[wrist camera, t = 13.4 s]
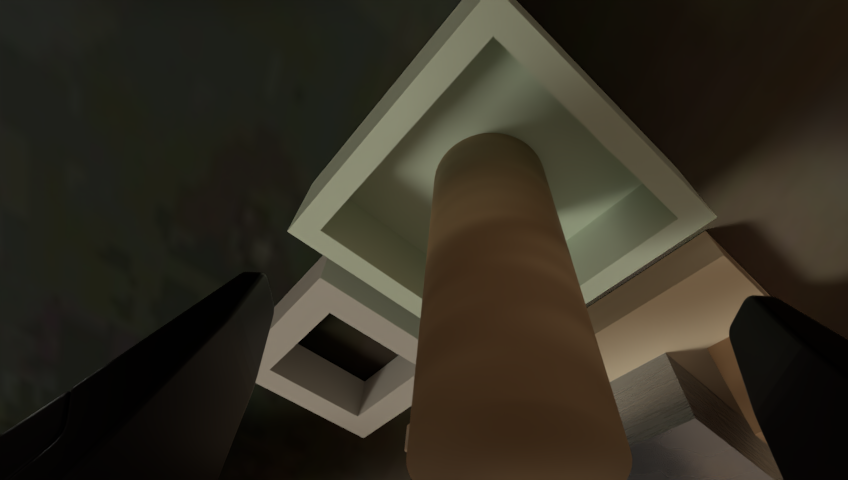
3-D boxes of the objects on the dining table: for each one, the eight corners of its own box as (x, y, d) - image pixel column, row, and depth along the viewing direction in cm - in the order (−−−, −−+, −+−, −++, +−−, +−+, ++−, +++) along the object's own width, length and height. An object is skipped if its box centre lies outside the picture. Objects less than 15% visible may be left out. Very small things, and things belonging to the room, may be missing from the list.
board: (881, 407, 18) (980, 525, 15) (584, 522, 25) (604, 621, 21) (705, 230, 14) (784, 336, 10) (407, 425, 21) (396, 528, 17)
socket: (464, 333, 17) (464, 369, 16) (370, 403, 20) (363, 438, 19) (332, 245, 15) (320, 277, 14) (247, 336, 18) (230, 370, 17)
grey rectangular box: (786, 453, 18) (825, 519, 16) (647, 504, 21) (667, 566, 19) (665, 352, 15) (695, 418, 13) (525, 427, 18) (532, 490, 16)
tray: (676, 167, 13) (717, 217, 11) (488, 307, 16) (492, 365, 14) (487, -31, 10) (493, -15, 8) (312, 183, 14) (287, 231, 12)
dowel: (552, 134, 12) (661, 407, 5) (536, 231, 14) (605, 526, 7) (434, 131, 12) (402, 393, 6) (433, 228, 14) (409, 514, 7)
